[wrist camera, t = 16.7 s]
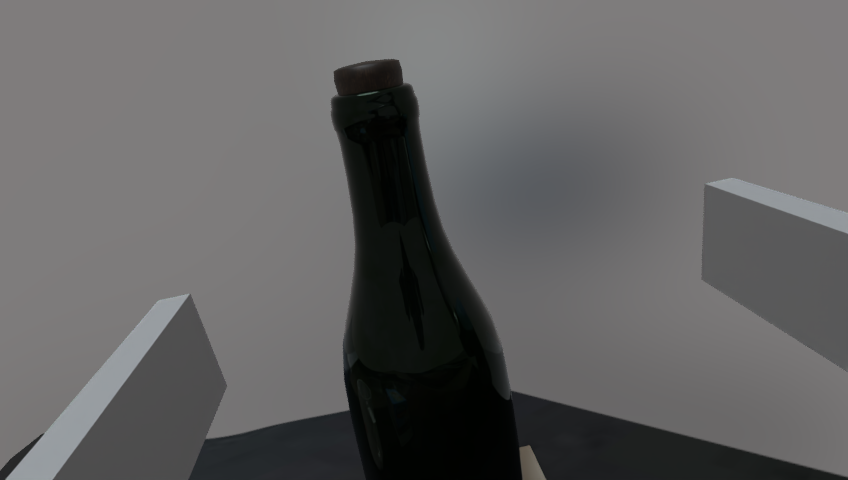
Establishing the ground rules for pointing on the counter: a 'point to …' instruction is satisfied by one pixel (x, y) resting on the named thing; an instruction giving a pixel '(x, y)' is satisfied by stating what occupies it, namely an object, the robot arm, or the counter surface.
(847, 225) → the robot arm
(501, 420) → the dark green wine bottle
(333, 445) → the counter surface
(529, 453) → the board
